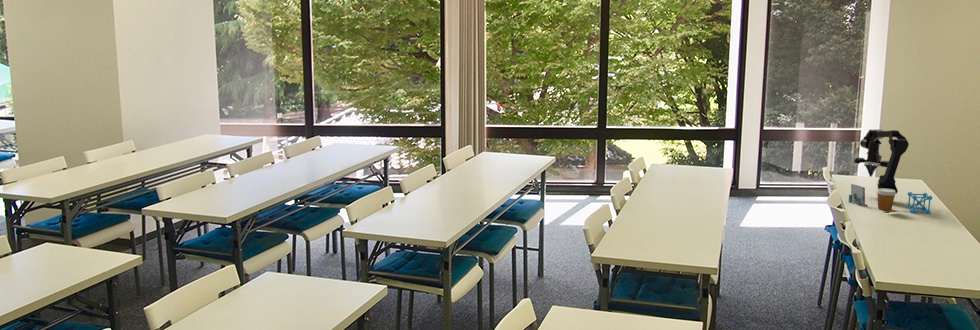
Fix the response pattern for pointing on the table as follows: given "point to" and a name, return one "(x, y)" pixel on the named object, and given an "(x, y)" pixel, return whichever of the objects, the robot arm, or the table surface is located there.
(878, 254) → the table surface
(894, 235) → the table surface
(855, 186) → the grey square plate
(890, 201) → the disposable coffee cup
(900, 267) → the table surface
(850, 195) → the tablet stand
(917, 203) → the molecular structure
